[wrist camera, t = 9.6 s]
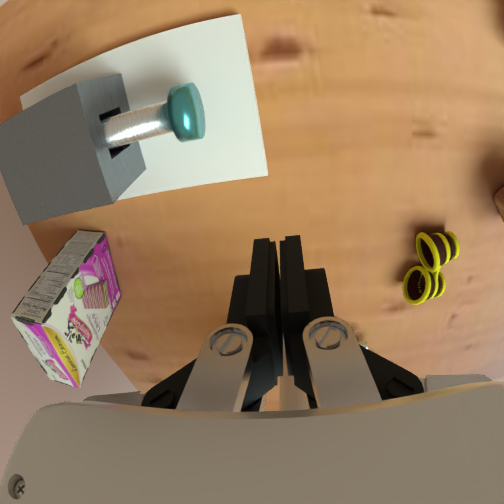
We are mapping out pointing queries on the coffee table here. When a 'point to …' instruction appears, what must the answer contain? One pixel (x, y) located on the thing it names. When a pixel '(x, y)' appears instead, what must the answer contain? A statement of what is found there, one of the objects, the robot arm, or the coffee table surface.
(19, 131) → the shaft housing
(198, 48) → the mounting board
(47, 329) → the candy bar box
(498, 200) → the cupcake
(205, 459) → the robot arm
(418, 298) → the opera glasses
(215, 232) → the coffee table surface
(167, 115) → the steel shaft
